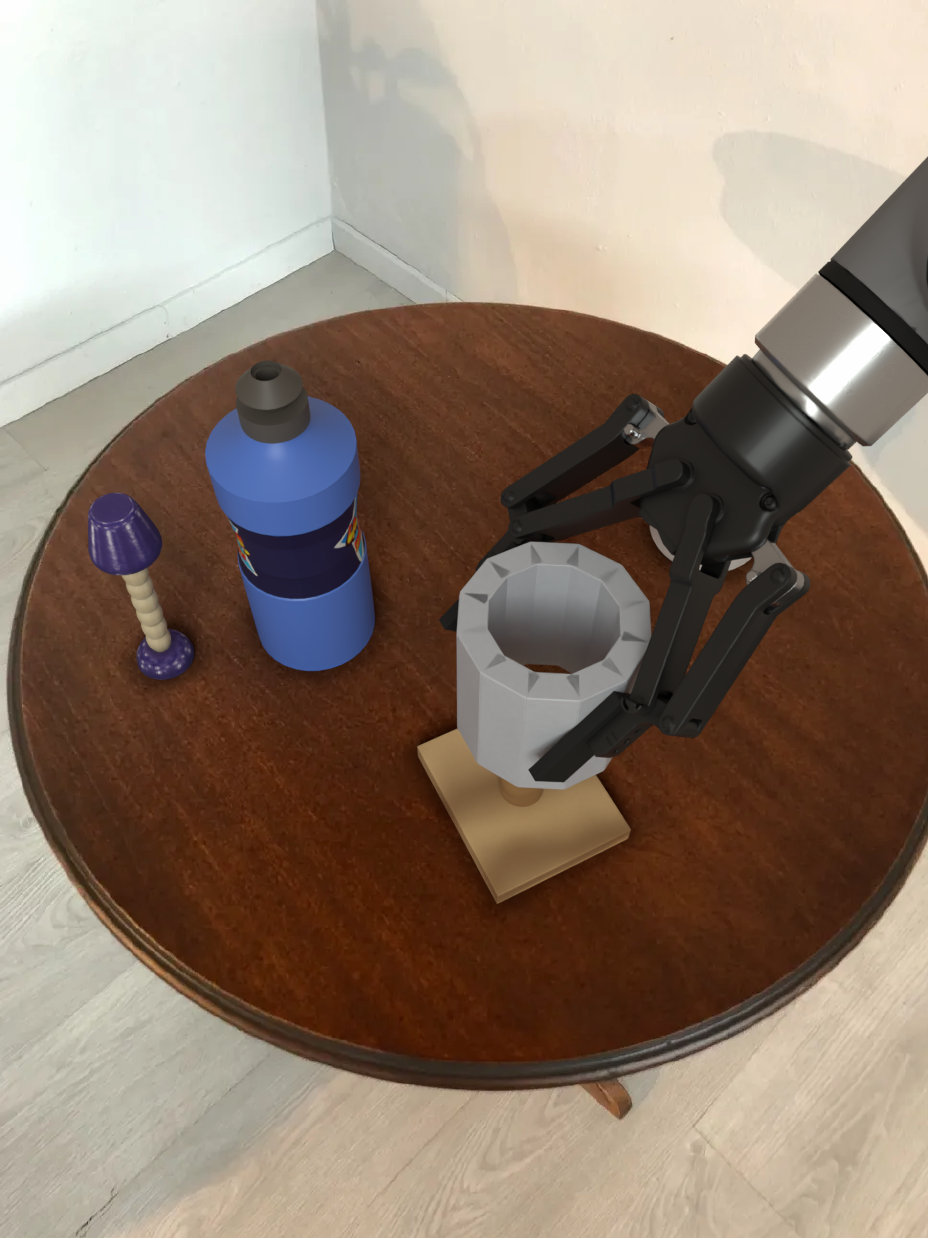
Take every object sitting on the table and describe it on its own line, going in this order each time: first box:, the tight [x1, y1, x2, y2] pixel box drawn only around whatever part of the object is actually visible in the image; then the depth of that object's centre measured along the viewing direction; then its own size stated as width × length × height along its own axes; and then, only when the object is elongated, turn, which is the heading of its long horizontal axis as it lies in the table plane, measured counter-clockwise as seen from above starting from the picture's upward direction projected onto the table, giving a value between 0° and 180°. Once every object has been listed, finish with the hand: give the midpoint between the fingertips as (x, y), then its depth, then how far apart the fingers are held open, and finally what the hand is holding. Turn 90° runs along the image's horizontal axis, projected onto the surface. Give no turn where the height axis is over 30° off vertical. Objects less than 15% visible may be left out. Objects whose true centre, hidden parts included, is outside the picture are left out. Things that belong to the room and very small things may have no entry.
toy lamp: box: [87, 492, 195, 681], centre depth 70 cm, size 5×5×17 cm
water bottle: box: [204, 359, 376, 672], centre depth 68 cm, size 9×9×25 cm
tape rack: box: [416, 727, 632, 905], centre depth 66 cm, size 12×10×10 cm
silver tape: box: [456, 542, 652, 790], centre depth 57 cm, size 10×10×10 cm
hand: (499, 698), depth 57 cm, fingers closed on silver tape, 10 cm apart
